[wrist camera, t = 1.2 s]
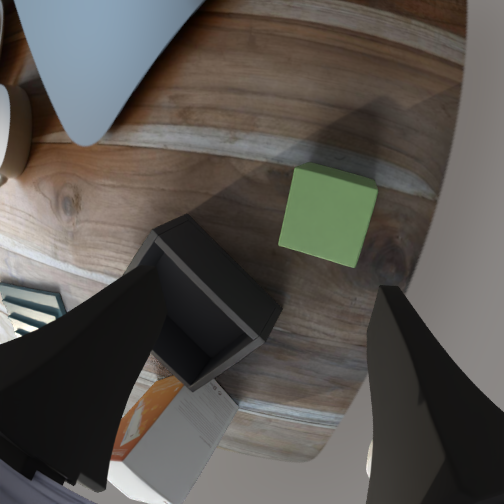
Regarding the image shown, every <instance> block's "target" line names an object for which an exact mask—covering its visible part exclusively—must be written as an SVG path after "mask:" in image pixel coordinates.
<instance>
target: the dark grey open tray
mask: <svg viewBox="0 0 504 504" xmlns="http://www.w3.org/2000/svg"><path fill="white" fill-rule="evenodd" d="M140 265H147V266H156V268H157V272H158V276H159V280H160V284H161V288H162V292H163V296H164V300H165V303H166V307H167V311H168V312H167V315H166V318H165V321H164V324H163V327H162V329H161V332H160V335H159V337H158V339H157V341H156V343H155V345H154V347H153V349H152V351H151V354H152V355H153V356H154V357H155V358H156V359H157V360H158V361H159V362H160V363H161V364H162V365H163V366H164V367H165V368H166V369H167V370H168V371H169V372H171V373H172V374H173V375H174V376H175V377H176V378H177V379H178V380H179V381H180V382H181V383H182V384H184V385H185V386H186V387H187V388H188V389H189V390H190V391H191V392H195V391H196V390H198V389H199V388H201V387H202V386H204V385H205V384H207V383H208V382H210V381H211V380H213V379H214V378H215V377H217V376H218V375H220V374H221V373H223V372H224V371H226V370H227V369H229V368H230V367H231V366H233V365H234V364H236V363H237V362H239V361H240V360H241V359H243V358H244V357H246V356H247V355H248V354H250V353H251V352H253V351H254V350H255V349H257V348H258V347H259V346H261V345H262V344H264V343H265V342H266V340H267V338H268V336H269V334H270V333H271V331H272V329H273V327H274V325H275V323H276V321H277V319H278V317H279V315H280V313H281V312H282V310H283V308H282V307H281V306H280V305H279V304H278V303H277V302H276V301H275V300H274V299H272V298H271V297H270V296H269V295H268V294H267V293H266V292H265V291H264V290H263V289H262V288H261V287H260V286H259V285H258V284H257V283H256V282H255V281H254V280H253V279H252V278H251V277H250V276H249V275H248V274H247V273H246V272H245V271H244V270H243V269H242V268H241V267H240V266H239V265H238V264H237V263H236V262H235V261H234V260H233V259H232V258H231V257H230V256H229V255H228V254H227V253H226V252H225V251H224V250H223V249H222V248H221V247H220V246H219V245H218V244H217V243H216V242H215V241H214V240H213V239H212V238H211V237H210V236H209V235H208V234H207V233H206V232H205V231H204V230H203V229H202V228H201V227H200V226H199V225H198V224H197V223H196V222H195V221H194V220H193V219H192V218H191V217H190V216H189V215H188V214H185V215H183V216H180V217H178V218H176V219H174V220H172V221H169V222H167V223H165V224H163V225H161V226H158V227H156V228H154V229H152V231H151V232H150V234H149V235H148V237H147V238H146V240H145V241H144V243H143V244H142V246H141V247H140V249H139V250H138V252H137V254H136V255H135V257H134V258H133V260H132V261H131V263H130V265H129V266H128V268H127V269H126V271H125V273H124V274H123V275H125V274H126V273H128V272H129V271H131V270H133V269H134V268H136V267H138V266H140Z"/></svg>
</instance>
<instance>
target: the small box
mask: <svg viewBox="0 0 504 504" xmlns="http://www.w3.org/2000/svg"><path fill="white" fill-rule="evenodd" d="M238 409H239V407H238V405H237V404H236V403H235V402H234V401H233V400H232V399H231V398H230V396H229V395H228V394H227V393H226V392H225V391H224V390H223V389H222V387H221V386H220V385H219V384H218V383H217V382H216V381H215V379H213V380H211V381H210V382H208V383H207V384H205V385H204V386H202V387H201V388H199V389H198V390H196V391H195V392H191V391H190V390H189V389H188V388H187V387H186V386H185V385H184V384H182V383H181V382H180V381H179V380H178V379H177V378H176V377H175V376H174V375H173V376H170V377H167V378H164V379H161V380H158V381H156V382H155V383H154V384H153V385H152V386H151V387H150V388H149V390H148V391H147V392H146V393H145V394H144V395H143V396H142V397H141V398H140V399H139V401H138V402H137V403H136V404H135V405H134V406H133V407H132V408H131V409H130V410H129V412H128V413H127V414H126V415H125V416H124V417H123V418H122V419H121V422H120V425H119V428H118V432H117V435H116V439H115V443H114V447H113V451H112V456H111V460H110V465H109V471H108V477H107V480H109V481H110V482H111V483H112V484H113V485H114V486H115V487H116V488H118V489H119V490H120V491H121V492H122V493H124V494H125V495H126V496H127V497H128V498H130V499H134V500H138V501H142V502H146V503H149V504H182V503H183V502H184V500H185V499H186V497H187V495H188V494H189V492H190V490H191V489H192V487H193V486H194V484H195V482H196V481H197V479H198V477H199V476H200V474H201V472H202V470H203V469H204V467H205V466H206V464H207V462H208V461H209V459H210V457H211V456H212V454H213V452H214V450H215V449H216V447H217V445H218V443H219V442H220V440H221V438H222V437H223V435H224V433H225V431H226V430H227V428H228V426H229V425H230V423H231V421H232V419H233V417H234V416H235V414H236V412H237V410H238Z"/></svg>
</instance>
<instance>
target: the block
mask: <svg viewBox="0 0 504 504" xmlns="http://www.w3.org/2000/svg"><path fill="white" fill-rule="evenodd" d="M377 194H378V188H377V185H376V183H375V180H373V179H369V178H366V177H363V176H359V175H356V174H352V173H349V172H345V171H342V170H338V169H334V168H330V167H327V166H323V165H319V164H315V163H311V162H308V163H305V164H302V165H300V166H297V167H295V169H294V174H293V178H292V183H291V188H290V192H289V197H288V202H287V206H286V211H285V215H284V220H283V224H282V229H281V233H280V238H279V242H278V245H279V246H283V247H286V248H289V249H293V250H296V251H300V252H303V253H306V254H309V255H313V256H316V257H319V258H323V259H326V260H329V261H333V262H336V263H339V264H342V265H346V266H349V267H352V268H355V267H356V264H357V261H358V258H359V255H360V252H361V249H362V246H363V243H364V239H365V236H366V233H367V230H368V226H369V223H370V219H371V216H372V212H373V209H374V205H375V202H376V198H377Z"/></svg>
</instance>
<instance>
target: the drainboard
mask: <svg viewBox="0 0 504 504" xmlns="http://www.w3.org/2000/svg"><path fill="white" fill-rule="evenodd" d="M0 293H1V296H2V298H3V300H2V302H3V304H4V305H5V307H6V309H7V312H8V315H9V316H8V318H9V320H10V321H11V322H12V325H13V327H14V330H15V331H14V332H15V335H16V336H17V337H21V336H23V335H25V334H27V333H29V332H32V331H34V330H36V329H38V328H40V327H42V326H44V325H46V324H48V323H50V322H52V321H54V320H55V319H57V318H59V317H61V316H62V315H64V314H66V311H65V308H64V305H63V302H62V299H61V296H60V294H59V293H53V292H48V291H42V290H37V289H31V288H26V287H21V286H16V285H11V284H6V283H2V282H0Z"/></svg>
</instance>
